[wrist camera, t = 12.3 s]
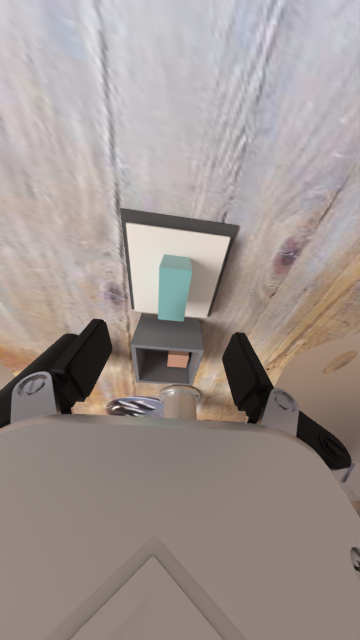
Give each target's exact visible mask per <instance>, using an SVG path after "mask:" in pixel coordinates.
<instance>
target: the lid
mask: <svg viewBox="0 0 360 640" xmlns="http://www.w3.org/2000/svg"><path fill="white" fill-rule="evenodd" d="M126 230H127V240H128V249H129V259H130V269H131V279H132V289H133V299H134V309H135V311H139V312H149V313H158V319H161V320H172V321H182V322H184V316H190V317H200V318H207V315H208V311H209V308H210V305H211V301H212V298H213V295H214V291H215V288H216V285H217V281H218V278H219V274H220V271H221V268H222V264H223V261H224V258H225V254H226V251H227V248H228V244H229V241H230V237H229V236H222V235H215V234H208V233H201V232H193V231H186V230H179V229H172V228H165V227H158V226H151V225H143V224H136V223H129V222H128V223H126Z"/></svg>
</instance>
